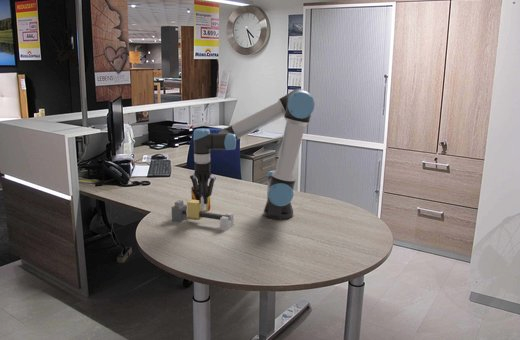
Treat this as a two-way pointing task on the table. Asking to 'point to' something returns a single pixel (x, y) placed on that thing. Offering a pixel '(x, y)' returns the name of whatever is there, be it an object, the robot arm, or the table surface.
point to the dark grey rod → (207, 215)
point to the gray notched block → (226, 222)
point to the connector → (178, 211)
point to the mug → (198, 199)
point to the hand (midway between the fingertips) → (203, 209)
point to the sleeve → (194, 209)
